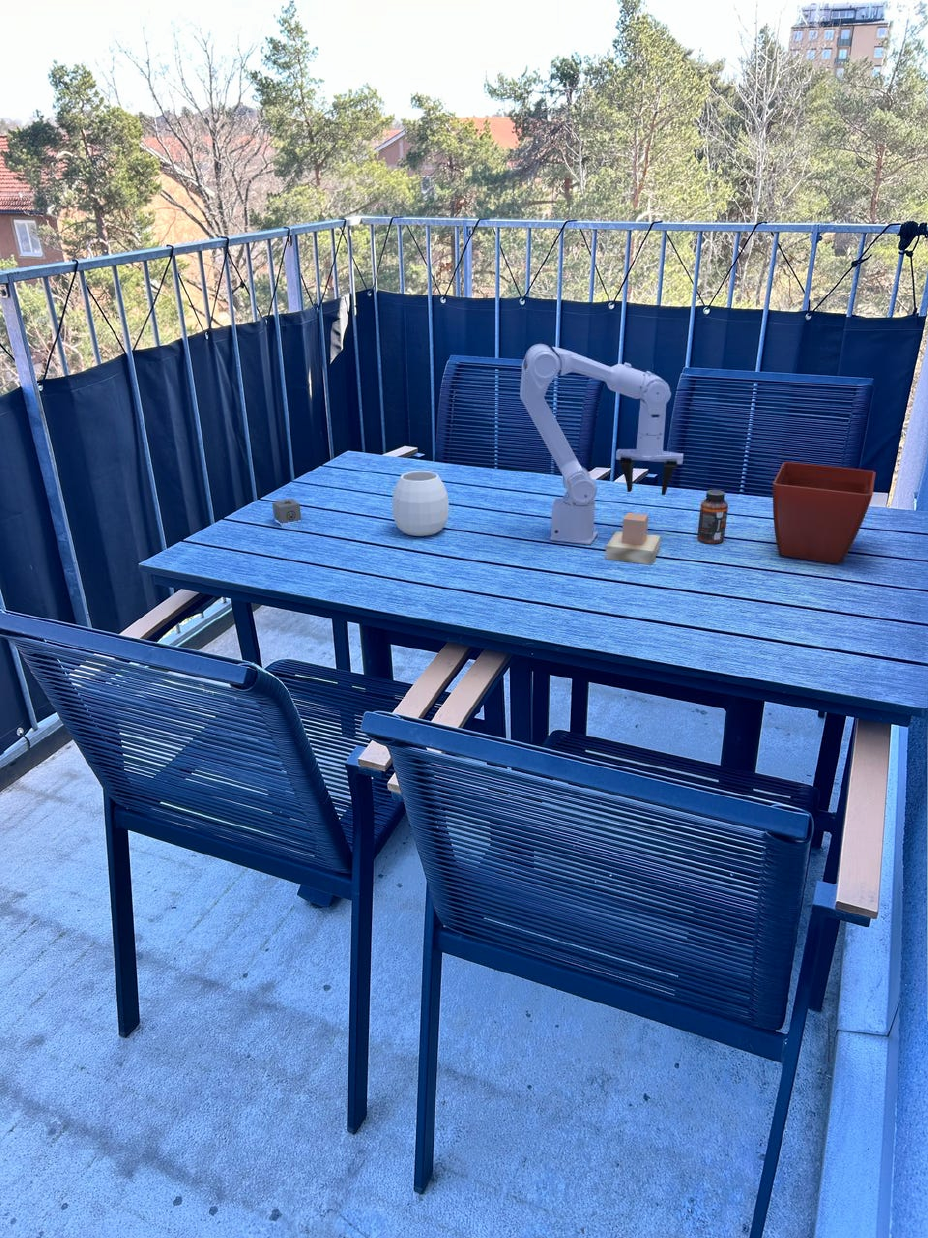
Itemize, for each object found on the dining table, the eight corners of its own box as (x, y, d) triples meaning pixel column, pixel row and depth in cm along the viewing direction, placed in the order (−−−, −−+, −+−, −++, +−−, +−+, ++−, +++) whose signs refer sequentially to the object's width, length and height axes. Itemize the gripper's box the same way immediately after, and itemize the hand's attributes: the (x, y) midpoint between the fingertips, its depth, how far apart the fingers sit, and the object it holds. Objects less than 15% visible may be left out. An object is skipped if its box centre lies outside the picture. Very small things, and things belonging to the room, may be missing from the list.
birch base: (605, 558, 192) (606, 545, 191) (615, 543, 201) (615, 530, 199) (651, 564, 189) (653, 551, 188) (659, 548, 197) (660, 535, 196)
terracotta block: (621, 542, 192) (623, 518, 190) (626, 536, 196) (627, 512, 194) (642, 545, 191) (644, 521, 188) (646, 538, 195) (648, 514, 192)
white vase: (384, 536, 207) (380, 480, 201) (408, 519, 218) (405, 465, 212) (435, 543, 202) (434, 486, 196) (457, 525, 213) (456, 470, 207)
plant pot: (862, 543, 199) (876, 469, 192) (857, 573, 183) (872, 494, 176) (773, 531, 206) (783, 460, 199) (761, 559, 191) (772, 483, 183)
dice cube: (301, 523, 216) (299, 503, 214) (282, 527, 214) (280, 507, 212) (293, 517, 220) (291, 498, 218) (274, 521, 218) (272, 502, 216)
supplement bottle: (724, 545, 199) (730, 496, 194) (697, 543, 200) (702, 495, 195) (723, 536, 204) (728, 488, 199) (696, 534, 205) (701, 487, 200)
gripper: (614, 434, 194) (611, 494, 199) (682, 439, 189) (676, 500, 195) (620, 427, 200) (617, 485, 205) (686, 431, 195) (681, 491, 201)
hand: (646, 492), depth 200 cm, fingers open, 7 cm apart
